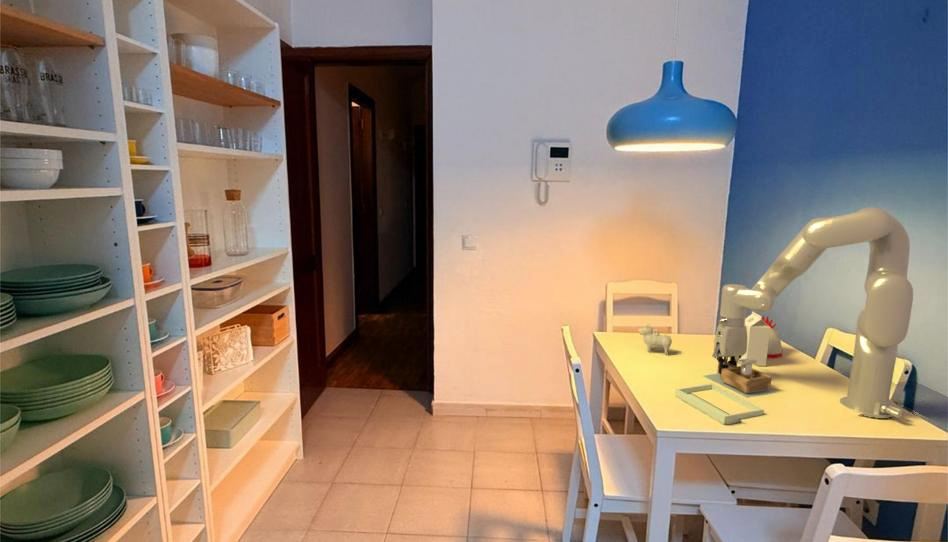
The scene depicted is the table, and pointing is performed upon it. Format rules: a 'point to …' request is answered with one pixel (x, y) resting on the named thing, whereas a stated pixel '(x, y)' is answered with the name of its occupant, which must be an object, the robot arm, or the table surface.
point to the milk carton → (757, 339)
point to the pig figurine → (655, 338)
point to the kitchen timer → (773, 341)
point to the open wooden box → (746, 385)
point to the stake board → (717, 379)
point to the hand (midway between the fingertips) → (727, 373)
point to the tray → (713, 410)
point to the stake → (746, 367)
